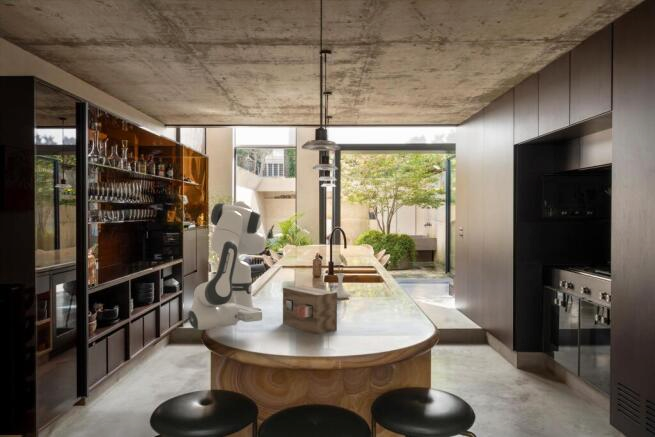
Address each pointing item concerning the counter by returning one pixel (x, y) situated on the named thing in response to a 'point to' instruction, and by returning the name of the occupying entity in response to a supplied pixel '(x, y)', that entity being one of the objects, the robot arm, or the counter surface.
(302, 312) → the plunger right
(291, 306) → the plunger left
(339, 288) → the flower in vase
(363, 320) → the counter surface
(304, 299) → the button panel
